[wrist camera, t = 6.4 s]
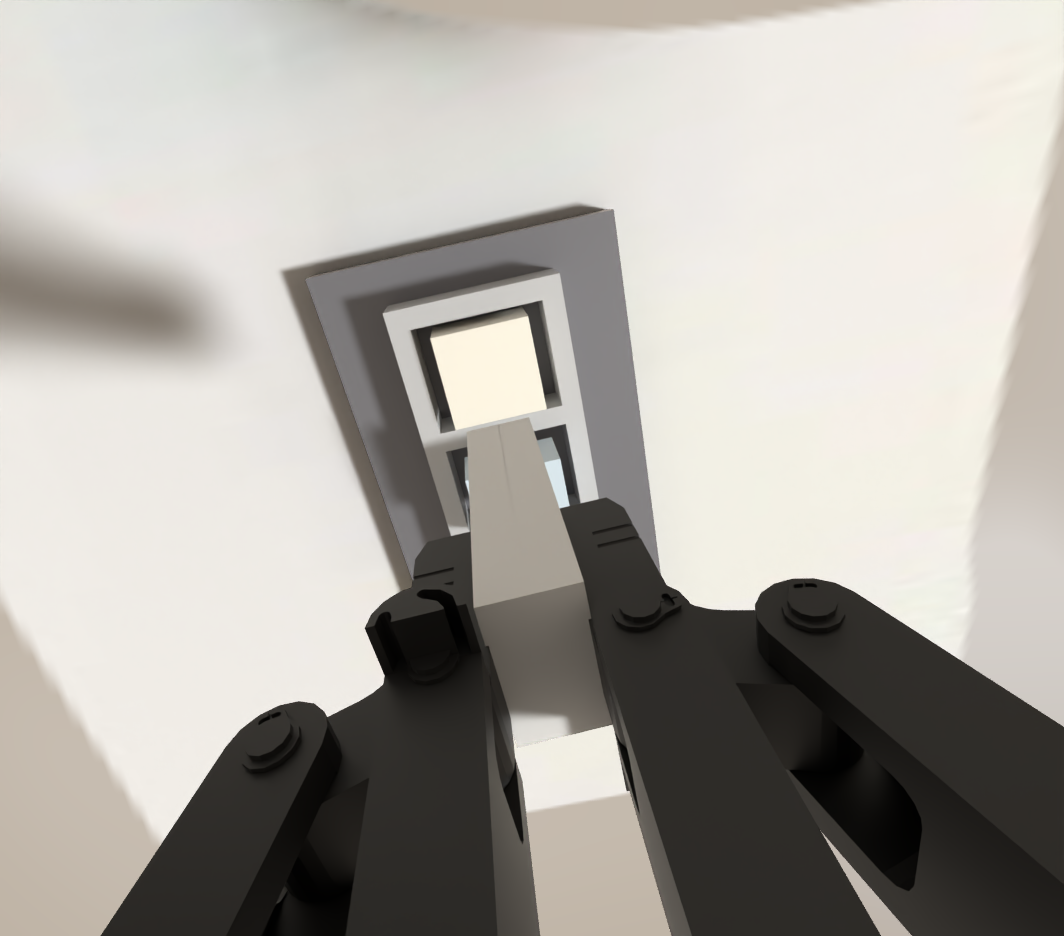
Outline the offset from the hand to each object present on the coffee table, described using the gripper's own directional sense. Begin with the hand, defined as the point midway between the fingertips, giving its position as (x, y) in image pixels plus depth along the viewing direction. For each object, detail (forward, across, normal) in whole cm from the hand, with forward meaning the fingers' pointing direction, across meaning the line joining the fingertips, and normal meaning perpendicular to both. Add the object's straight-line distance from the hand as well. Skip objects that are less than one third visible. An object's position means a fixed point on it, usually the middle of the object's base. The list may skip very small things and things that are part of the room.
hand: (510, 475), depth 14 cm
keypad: (+12, 0, -7) cm, 14 cm away
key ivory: (+11, 0, 0) cm, 11 cm away
